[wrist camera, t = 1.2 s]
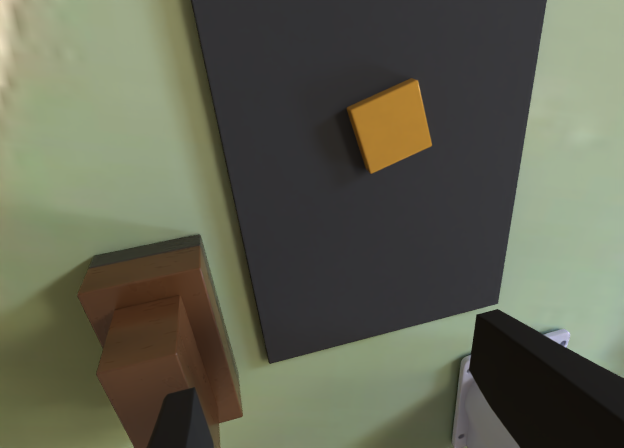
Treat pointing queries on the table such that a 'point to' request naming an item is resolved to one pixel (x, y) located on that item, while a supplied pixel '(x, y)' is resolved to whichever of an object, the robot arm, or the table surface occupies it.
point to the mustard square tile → (390, 125)
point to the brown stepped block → (160, 334)
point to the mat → (349, 163)
